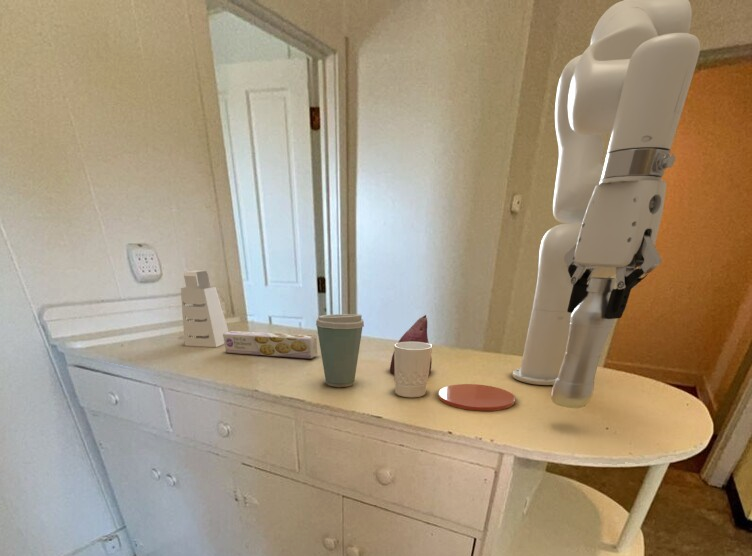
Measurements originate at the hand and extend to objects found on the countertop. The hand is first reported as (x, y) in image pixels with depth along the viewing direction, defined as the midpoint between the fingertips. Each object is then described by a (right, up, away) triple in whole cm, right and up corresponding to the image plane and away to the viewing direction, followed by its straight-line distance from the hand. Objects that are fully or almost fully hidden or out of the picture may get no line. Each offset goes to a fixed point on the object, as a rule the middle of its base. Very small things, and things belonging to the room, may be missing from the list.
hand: (593, 313), depth 67 cm
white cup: (-26, -5, +27) cm, 38 cm away
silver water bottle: (0, -13, +8) cm, 15 cm away
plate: (-13, -7, +24) cm, 28 cm away
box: (-64, +14, +56) cm, 86 cm away
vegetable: (-25, +4, +41) cm, 48 cm away
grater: (-87, +23, +69) cm, 113 cm away
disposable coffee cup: (-42, -2, +32) cm, 53 cm away
